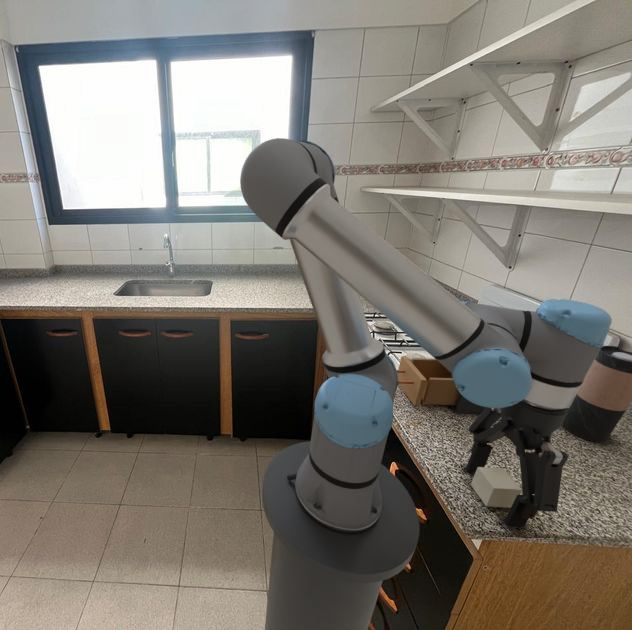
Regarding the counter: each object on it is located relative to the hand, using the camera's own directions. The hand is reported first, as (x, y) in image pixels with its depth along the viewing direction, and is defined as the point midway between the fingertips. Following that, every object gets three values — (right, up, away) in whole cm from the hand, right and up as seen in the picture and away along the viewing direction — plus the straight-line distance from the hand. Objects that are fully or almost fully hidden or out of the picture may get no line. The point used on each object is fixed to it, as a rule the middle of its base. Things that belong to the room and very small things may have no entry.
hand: (492, 495), depth 63 cm
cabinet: (+16, +12, +27) cm, 33 cm away
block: (0, 0, 0) cm, 0 cm away
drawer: (+4, +13, +27) cm, 30 cm away
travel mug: (+33, +7, +15) cm, 37 cm away
